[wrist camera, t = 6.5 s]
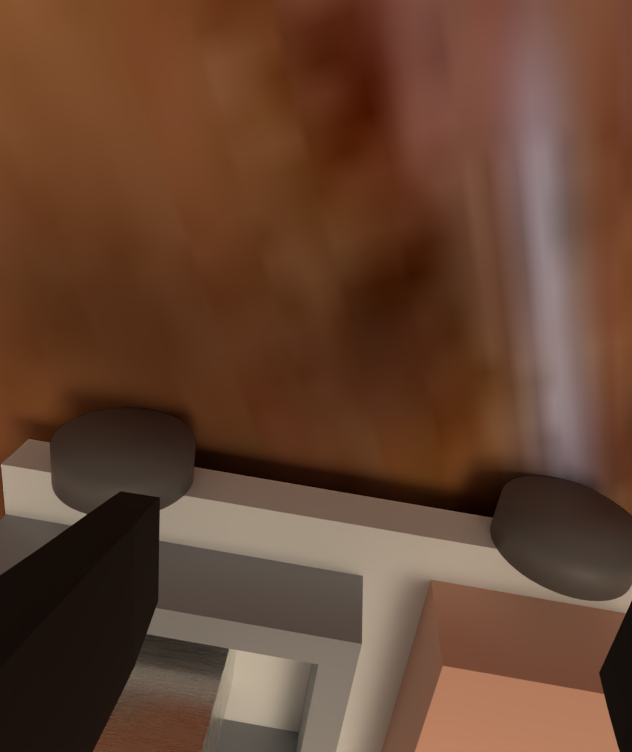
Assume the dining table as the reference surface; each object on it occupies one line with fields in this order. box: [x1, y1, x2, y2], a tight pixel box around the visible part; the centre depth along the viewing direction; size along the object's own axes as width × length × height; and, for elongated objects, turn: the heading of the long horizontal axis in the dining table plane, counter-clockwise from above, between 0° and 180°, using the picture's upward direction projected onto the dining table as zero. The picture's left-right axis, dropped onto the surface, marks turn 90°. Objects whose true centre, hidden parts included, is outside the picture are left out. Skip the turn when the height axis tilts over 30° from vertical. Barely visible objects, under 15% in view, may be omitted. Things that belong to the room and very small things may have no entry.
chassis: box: [0, 408, 632, 752], centre depth 19 cm, size 20×14×6 cm
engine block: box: [93, 634, 236, 752], centre depth 16 cm, size 4×4×7 cm
